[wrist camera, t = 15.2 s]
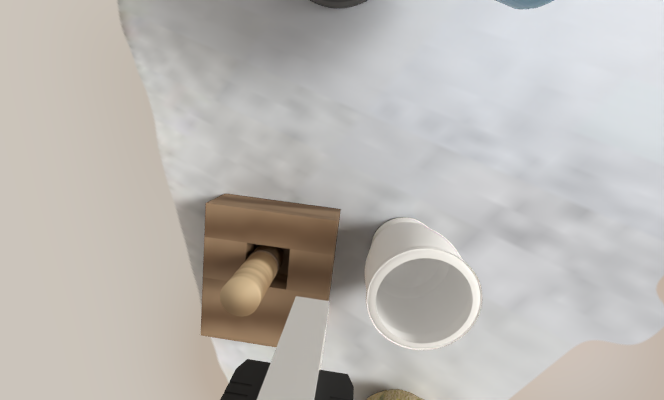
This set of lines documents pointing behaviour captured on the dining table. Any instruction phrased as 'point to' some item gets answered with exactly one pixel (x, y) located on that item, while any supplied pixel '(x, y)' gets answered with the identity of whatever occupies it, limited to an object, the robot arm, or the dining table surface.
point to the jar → (419, 286)
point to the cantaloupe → (394, 395)
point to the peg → (251, 281)
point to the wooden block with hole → (242, 239)
